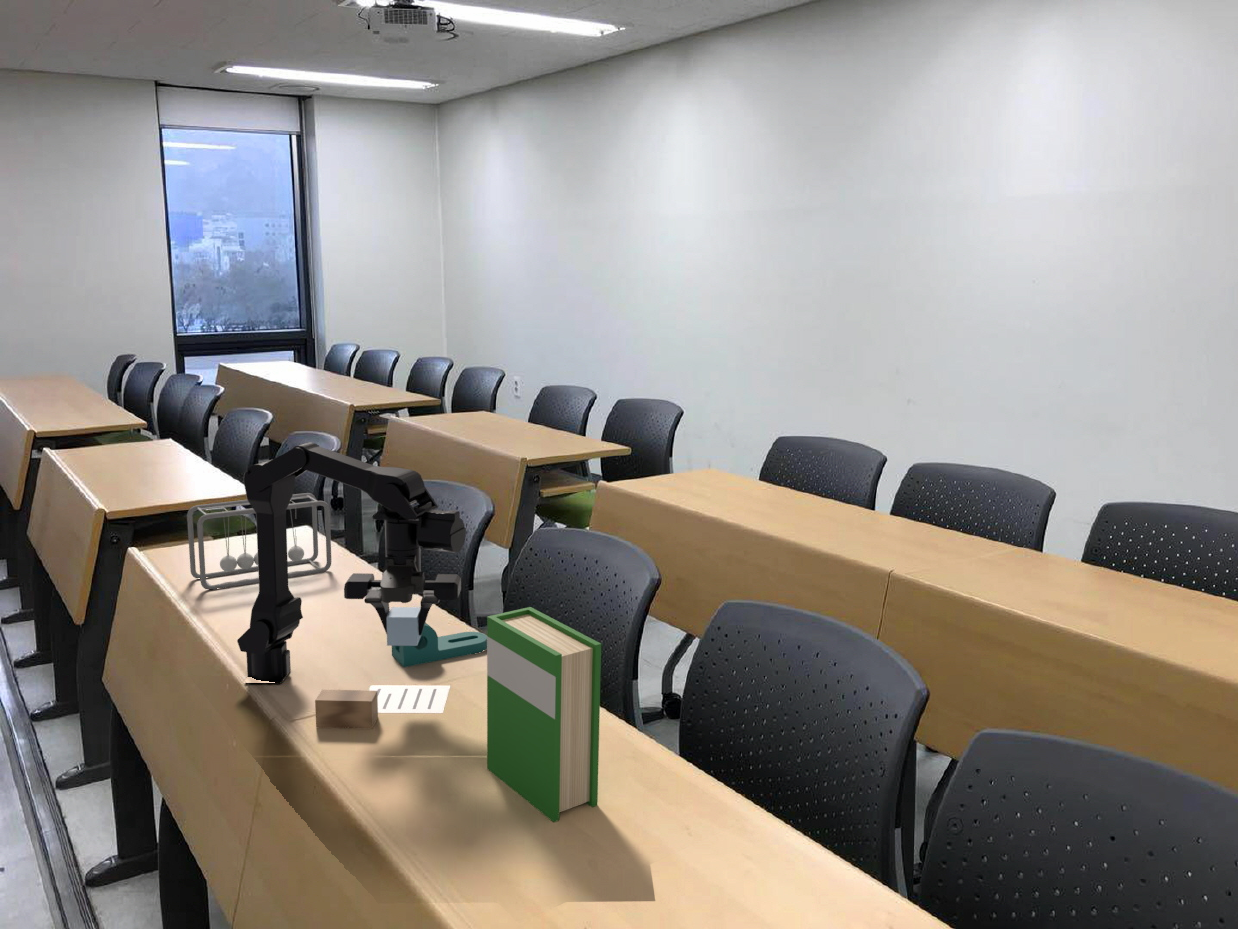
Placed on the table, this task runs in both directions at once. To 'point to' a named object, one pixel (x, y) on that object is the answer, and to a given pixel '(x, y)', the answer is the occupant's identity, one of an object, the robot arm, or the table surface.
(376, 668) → the table surface
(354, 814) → the table surface
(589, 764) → the hardback book
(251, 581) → the newton's cradle
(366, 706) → the walnut block
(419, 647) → the bracket
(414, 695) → the letter
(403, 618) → the cube
